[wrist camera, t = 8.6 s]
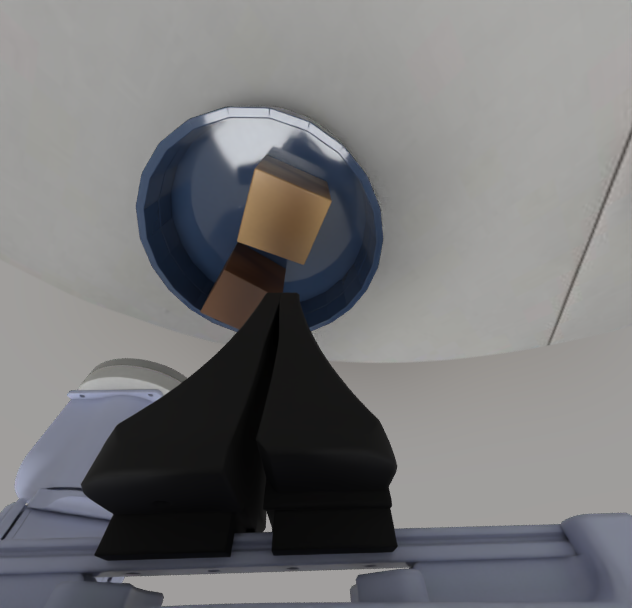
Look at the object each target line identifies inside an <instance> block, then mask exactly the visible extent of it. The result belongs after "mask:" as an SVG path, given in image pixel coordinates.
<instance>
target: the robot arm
mask: <svg viewBox="0 0 632 608" xmlns="http://www.w3.org/2000/svg"><path fill="white" fill-rule="evenodd" d="M67 396H68V397H69V398H70V399H71V400H70V401H69V403H68V404H67V405H66V406H65V408H64V409H63V410H62V411H61V413H60V414H59V415H58V416H57V418H56V419H55V420H54V422H53V423H52V424H51V425H50V426H49V428H48V429H47V430H46V431H45V433H44V434H43V435H42V436H41V438H40V439H39V440H38V441H37V443H36V444H35V445H34V446H33V448H32V449H31V450H30V452H29V453H28V454H27V456H26V457H25V458H24V460H23V462H22V464H21V466H20V468H19V470H18V473H17V476H16V480H15V491H16V494H17V496H18V498H19V500H18V501H17V502H14V503H12V504H10V505H7V506H6V507H5V508H4V509H3V510H2V511H1V513H0V608H632V516H631V515H630V514H628V513H601V514H582V515H577V516H573V517H571V518H568V519H566V520H565V521H562V523H561V524H551V525H514V526H477V527H440V528H404V529H394V525H393V520H392V515H391V510H390V508H391V507H392V501H391V496H390V491H389V485H390V483H391V481H392V479H393V477H394V475H395V473H396V470H397V464H396V460H395V456H394V453H393V451H392V448H391V445H390V442H389V440H388V438H387V436H386V433H385V431H384V429H383V427H382V425H381V423H380V421H379V420H378V419H377V418H376V417H375V416H374V415H373V414H372V413H371V412H370V411H369V410H368V409H367V408H366V407H365V406H364V405H363V403H361V401H359V399H358V398H357V397H356V396H355V395H354V394H353V393H352V391H351V390H350V389H349V388H348V387H347V386H346V384H345V383H344V382H343V380H342V379H341V378H340V377H339V375H338V374H337V373H336V372H335V370H334V369H333V368H332V366H331V365H330V363H329V362H328V360H327V359H326V357H325V356H324V354H323V353H322V351H321V349H320V348H319V346H318V344H317V342H316V341H315V339H314V337H313V335H312V333H311V331H310V329H309V326H308V324H307V322H306V319H305V317H304V314H303V311H302V308H301V304H300V295H299V294H298V293H266V294H265V296H264V297H263V299H262V300H261V302H260V303H259V305H258V306H257V308H256V309H255V310H254V312H253V313H252V314H251V316H250V317H249V318H248V320H247V321H246V322H245V323H244V325H243V326H242V327H241V328H240V329H239V331H238V332H237V333H236V334H235V335H234V336H233V337H232V338H231V340H230V341H229V342H228V343H227V344H226V345H225V346H224V347H223V348H222V349H221V350H220V351H219V352H218V353H217V354H216V355H215V356H214V357H212V358H211V359H210V360H209V361H208V362H207V363H206V364H204V365H203V366H202V367H201V368H200V369H199V370H198V371H196V372H195V373H194V374H193V375H191V376H190V377H189V378H188V379H186V380H185V381H183V382H182V383H181V384H179V385H178V386H177V387H175V388H174V389H172V390H171V391H170V392H168V393H167V394H165V395H163V393H162V392H161V391H160V390H157V389H146V390H72V391H69V393H68V394H67ZM26 503H28V505H25V504H26ZM266 511H267V514H268V517H269V520H270V523H271V526H272V532H263V531H264V530H265V528H266ZM406 567H407V568H409V569H397V570H389V571H382V572H375V573H368V574H362V575H358V577H357V579H356V585H354V586H352V587H351V589H350V595H351V602H347V603H346V602H345V603H344V602H343V603H342V602H341V603H340V602H338V603H244V604H243V603H242V604H209V605H183V606H162V607H161V605H162V602H163V598H164V596H163V594H162V593H158V592H152V591H146V590H143V589H139V588H136V587H134V586H133V585H131V584H129V583H122V582H123V580H124V578H125V577H128V576H158V575H190V574H220V573H253V572H284V571H312V570H313V571H315V570H345V569H346V570H347V569H377V568H378V569H379V568H406Z"/></svg>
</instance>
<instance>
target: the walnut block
mask: <svg viewBox="0 0 632 608" xmlns="http://www.w3.org/2000/svg"><path fill="white" fill-rule="evenodd" d="M285 272H286V269H285V268H283V267H282V266H280V265H278V264H276V263H275V262H273V261H271V260H269V259H268V258H266V257H264V256H263V255H261V254H259V253H257V252H256V251H254V250H252V249H250V248H249V247H247V246H245V245H243V244H242V243H239V242H237V244H236V246H235V248H234V249H233V251H232V253H231V255H230V256H229V258H228V260H227V262H226V264H225V265H224V267H223V269H222V271H221V273H220V274H219V276H218V278H217V280H216V282H215V284H214V286H213V287H212V289H211V291H210V293H209V295H208V297H207V299H206V301H205V303H204V305H203V307H202V309H201V311H200V312H201V313H203V314H205V315H207V316H210V317H212V318H214V319H216V320H219V321H221V322H223V323H225V324H228V325H230V326H232V327H234V328H237V329H240V328H241V327H242V326H243V325H244V323H245V322H246V321H247V320H248V318H249V317H250V316H251V314H252V313H253V312H254V310H255V309H256V308H257V306H258V305H259V303H260V302H261V300H262V299H263V297H264V296H265V294H266V293H283V287H284V280H285Z"/></svg>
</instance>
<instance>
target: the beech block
mask: <svg viewBox="0 0 632 608" xmlns="http://www.w3.org/2000/svg"><path fill="white" fill-rule="evenodd" d="M331 202H332V201H331V196H330V192H329V188H328V184H327V182H326V181H324V180H322V179H319V178H317V177H315V176H313V175H310V174H308V173H306V172H304V171H301V170H299V169H297V168H295V167H293V166H290V165H288V164H286V163H284V162H281V161H279V160H277V159H275V158H272V157H270V156H268V155H265V156H264V158H263V159H262V160H261V161H260V163H259V164H258V165H257V166H256V168H255V169H254V173H253V177H252V181H251V185H250V189H249V193H248V197H247V201H246V205H245V209H244V213H243V217H242V221H241V225H240V230H239V234H238V238H237V242H239V243H242V244H245V245H248V246H251V247H254V248H257V249H259V250H262V251H265V252H268V253H271V254H274V255H277V256H279V257H282V258H285V259H288V260H291V261H294V262H296V263H299V264H302V265H304V264H305V262H306V259H307V257H308V255H309V253H310V250H311V248H312V246H313V243H314V241H315V239H316V237H317V234H318V232H319V230H320V227H321V225H322V223H323V221H324V218H325V216H326V214H327V211H328V209H329V207H330V205H331Z"/></svg>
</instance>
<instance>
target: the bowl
mask: <svg viewBox="0 0 632 608" xmlns="http://www.w3.org/2000/svg"><path fill="white" fill-rule="evenodd" d="M265 155H268V156H270V157H272V158H275V159H277V160H279V161H281V162H284V163H286V164H288V165H290V166H293V167H295V168H297V169H299V170H301V171H304V172H306V173H308V174H310V175H313V176H315V177H317V178H319V179H322V180H324V181H326V182H327V184H328V188H329V192H330V196H331V201H332V202H331V205H330V207H329V209H328V211H327V214H326V216H325V218H324V221H323V223H322V225H321V227H320V230H319V232H318V234H317V237H316V239H315V241H314V243H313V246H312V248H311V250H310V253H309V255H308V257H307V259H306V262H305V264H304V265H302V264H299V263H296V262H294V261H291V260H288V259H285V258H282V257H279V256H277V255H274V254H271V253H268V252H265V251H262V250H259V249H257V248H254V247H251V246H248V245H245V244H243V245H245V246H247V247H249V248H250V249H252V250H254V251H256V252H257V253H259V254H261V255H263V256H264V257H266V258H268V259H269V260H271V261H273V262H275V263H276V264H278V265H280V266H282V267H283V268H285V269H286V272H285V280H284V287H283V293H298V294H299V295H300V304H301V308H302V311H303V314H304V317H305V319H306V322H307V324H308V326H309V329H310V331H313V330H315V329H318V328H320V327H322V326H325V325H327V324H330V323H331V322H333V321H335V320H336V319H337V318H339V317H340V316H342V315H343V314H344V313H346V312H347V311H349V310H350V309H351V308H352V307H353V306H354V305H355V303H356V302H357V301H358V300H359V299H360V298H361V296H362V295H363V294H364V293H365V292H366V290H367V289H368V287H369V285H370V283H371V281H372V279H373V277H374V275H375V272H376V270H377V268H378V265H379V260H380V255H381V249H382V244H383V230H382V220H381V210H380V206H379V204H378V201H377V199H376V196H375V194H374V191H373V189H372V186H371V183H370V181H369V178H368V176H367V175H366V173H365V172H364V171H363V170H362V168H361V167H360V166H359V164H358V163H357V162H356V160H355V159H354V158H353V157H352V155H351V154H350V153H349V151H348V150H347V149H346V148H345V146H344V145H343V144H342V143H341V141H340V140H339V139H338V138H337V137H336V136H334V135H333V134H332V133H330V132H329V131H327V130H326V129H325V128H324V127H322V126H321V125H319V124H318V123H316V122H315V121H314V120H312V119H311V118H309V117H306V116H304V115H301V114H298V113H296V112H293V111H289V110H286V109H283V108H281V107H277V106H228V107H224V108H221V109H217V110H214V111H211V112H208V113H205V114H202V115H199V116H196V117H193V118H190V119H189V120H187V121H186V122H184V123H183V124H182V125H181V126H179V127H178V128H177V129H176V130H174V131H173V132H172V133H171V134H169V135H168V136H167V137H166V138H165V139H163V140H162V141H161V142H160V143H159V144H158V146H157V148H156V149H155V151H154V153H153V154H152V156H151V158H150V160H149V161H148V163H147V165H146V167H145V168H144V170H143V172H142V174H141V180H140V185H139V191H138V197H137V202H136V212H137V220H138V227H139V235H140V240H141V242H142V244H143V247H144V249H145V251H146V254H147V256H148V259H149V261H150V263H151V266H152V267H153V269H154V270H155V272H156V273H157V274H158V276H159V277H160V278H161V280H162V281H163V283H164V284H165V285H166V287H167V288H168V289H169V290H170V292H172V293H173V294H174V295H175V296H176V297H177V298H178V299H179V300H180V301H182V302H183V303H184V304H185V305H186V306H187V307H188V308H189V309H191V310H192V311H194V312H196V313H197V314H199V315H201V316H202V317H204V318H206V319H207V320H209V321H211V322H212V323H214V324H217V325H220V326H222V327H225V328H228V329H230V330H233V331H236V332H238V331H239V329H237V328H234V327H232V326H230V325H228V324H225V323H223V322H221V321H219V320H216V319H214V318H212V317H210V316H207V315H205V314H203V313H201V312H200V311H201V309H202V307H203V305H204V303H205V301H206V299H207V297H208V295H209V293H210V291H211V289H212V287H213V286H214V284H215V282H216V280H217V278H218V276H219V274H220V273H221V271H222V269H223V267H224V265H225V264H226V262H227V260H228V258H229V256H230V255H231V253H232V251H233V249H234V248H235V246H236V244H237V238H238V234H239V230H240V225H241V221H242V217H243V213H244V209H245V205H246V201H247V197H248V193H249V189H250V185H251V181H252V177H253V173H254V169H255V168H256V166H257V165H258V164H259V163H260V161H261V160H262V159H263V158H264V156H265Z"/></svg>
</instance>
